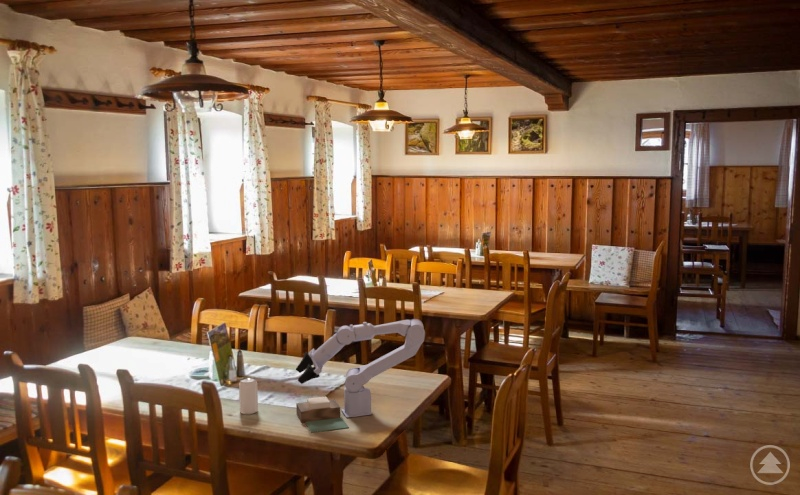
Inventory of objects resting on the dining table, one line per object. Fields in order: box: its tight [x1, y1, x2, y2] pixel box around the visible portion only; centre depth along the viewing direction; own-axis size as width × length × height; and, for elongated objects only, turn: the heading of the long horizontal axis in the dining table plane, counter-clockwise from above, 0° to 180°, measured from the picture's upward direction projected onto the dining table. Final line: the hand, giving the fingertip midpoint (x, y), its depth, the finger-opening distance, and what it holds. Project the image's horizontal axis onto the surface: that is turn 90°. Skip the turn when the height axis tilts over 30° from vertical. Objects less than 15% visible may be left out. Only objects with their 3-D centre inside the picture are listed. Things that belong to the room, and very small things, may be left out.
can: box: [238, 376, 259, 416], centre depth 243 cm, size 6×6×12 cm
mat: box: [305, 416, 350, 434], centre depth 231 cm, size 13×10×1 cm
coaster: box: [306, 396, 330, 410], centre depth 238 cm, size 7×6×2 cm
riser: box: [295, 398, 341, 424], centre depth 239 cm, size 14×9×4 cm, turn 109°
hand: (298, 376), depth 240 cm, fingers open, 7 cm apart
